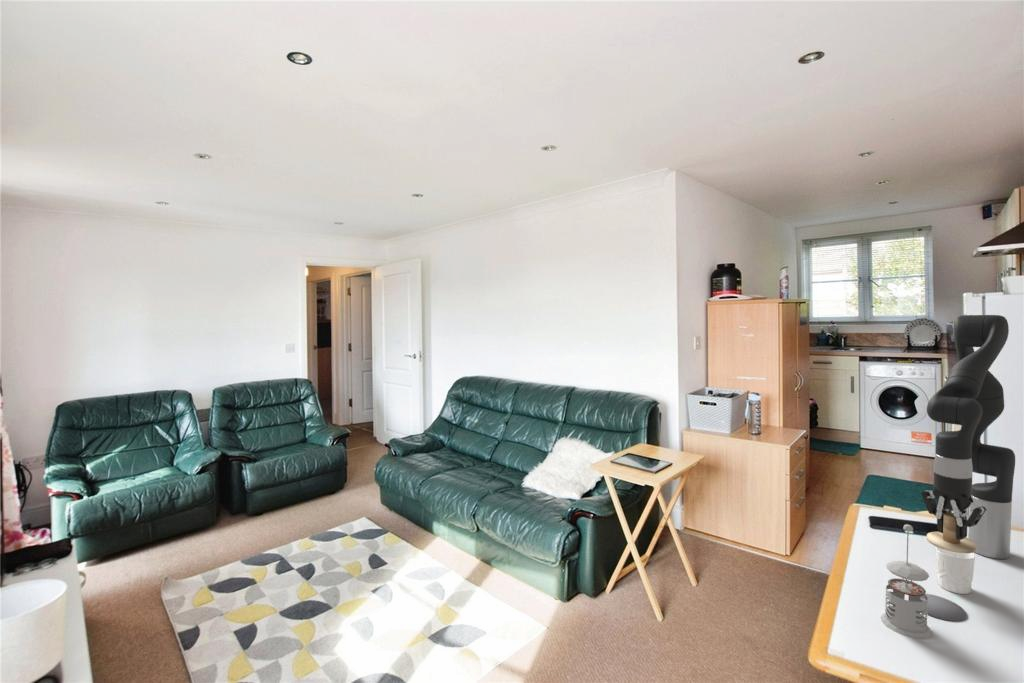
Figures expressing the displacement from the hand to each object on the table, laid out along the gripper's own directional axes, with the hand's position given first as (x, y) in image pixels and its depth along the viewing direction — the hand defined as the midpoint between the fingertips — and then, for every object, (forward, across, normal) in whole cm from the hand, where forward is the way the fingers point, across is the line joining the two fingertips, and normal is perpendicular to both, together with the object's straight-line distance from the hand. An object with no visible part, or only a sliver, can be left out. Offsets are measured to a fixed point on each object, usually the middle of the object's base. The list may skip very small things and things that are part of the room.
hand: (951, 535), depth 130 cm
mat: (+16, -3, +10) cm, 19 cm away
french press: (+15, -4, +24) cm, 29 cm away
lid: (+2, 0, 0) cm, 2 cm away
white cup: (+16, +1, -4) cm, 17 cm away
